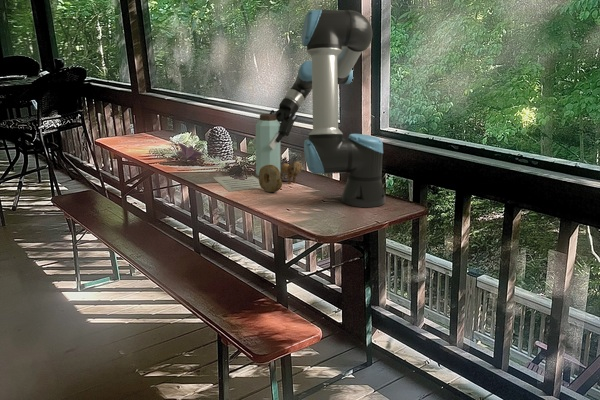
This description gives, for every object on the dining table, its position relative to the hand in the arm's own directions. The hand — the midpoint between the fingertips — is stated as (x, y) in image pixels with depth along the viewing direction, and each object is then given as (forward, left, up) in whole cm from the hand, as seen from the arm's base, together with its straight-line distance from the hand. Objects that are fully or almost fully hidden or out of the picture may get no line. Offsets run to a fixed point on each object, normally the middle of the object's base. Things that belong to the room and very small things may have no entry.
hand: (262, 145), depth 230 cm
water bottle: (+1, -3, -13) cm, 14 cm away
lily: (+34, +22, -13) cm, 43 cm away
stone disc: (-22, +5, -13) cm, 26 cm away
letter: (-5, +11, -13) cm, 18 cm away
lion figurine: (-11, -8, -13) cm, 19 cm away
